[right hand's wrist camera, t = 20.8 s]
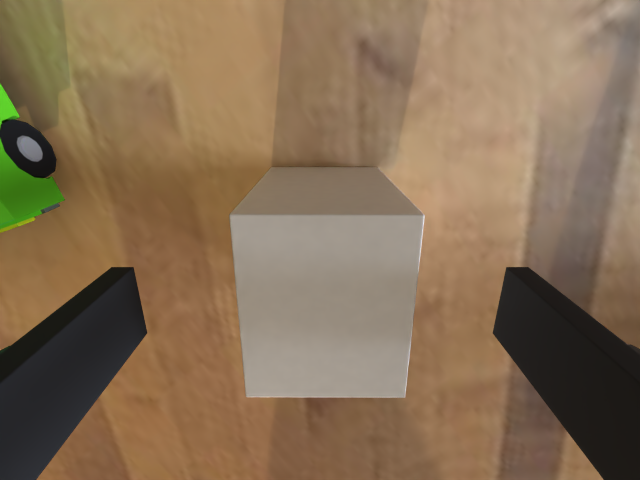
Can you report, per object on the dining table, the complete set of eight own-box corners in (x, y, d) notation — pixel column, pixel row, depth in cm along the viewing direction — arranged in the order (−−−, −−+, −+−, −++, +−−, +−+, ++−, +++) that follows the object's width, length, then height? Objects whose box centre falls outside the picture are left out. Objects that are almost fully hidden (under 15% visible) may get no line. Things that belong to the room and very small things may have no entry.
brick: (378, 167, 20) (425, 214, 11) (371, 281, 23) (405, 398, 13) (270, 166, 20) (228, 214, 11) (276, 281, 23) (245, 397, 13)
